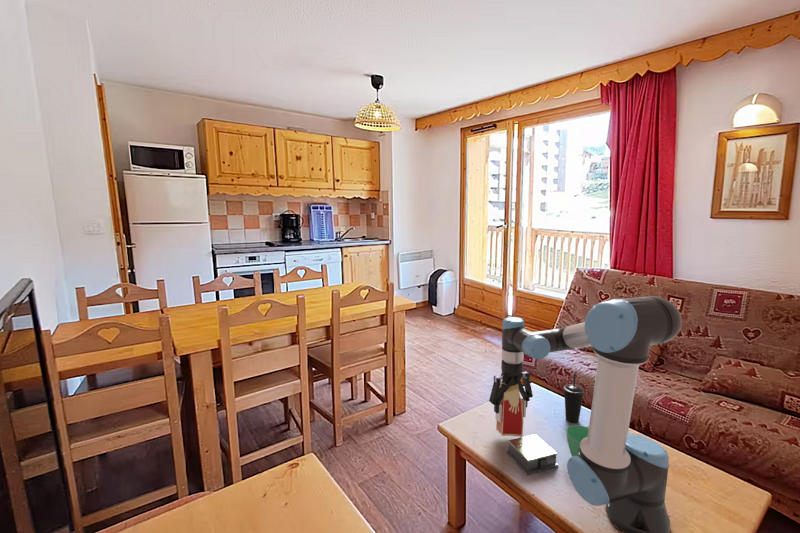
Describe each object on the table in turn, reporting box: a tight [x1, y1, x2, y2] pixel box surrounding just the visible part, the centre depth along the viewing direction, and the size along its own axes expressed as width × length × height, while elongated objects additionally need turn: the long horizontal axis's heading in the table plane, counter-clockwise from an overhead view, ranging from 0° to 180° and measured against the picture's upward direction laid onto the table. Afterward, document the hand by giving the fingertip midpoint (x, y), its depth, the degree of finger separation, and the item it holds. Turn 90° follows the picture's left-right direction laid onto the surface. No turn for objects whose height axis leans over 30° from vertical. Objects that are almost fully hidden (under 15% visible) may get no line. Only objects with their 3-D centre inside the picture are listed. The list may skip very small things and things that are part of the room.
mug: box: [565, 424, 589, 457], centre depth 132 cm, size 15×10×10 cm
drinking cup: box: [563, 373, 585, 424], centre depth 154 cm, size 8×8×20 cm
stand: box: [506, 434, 559, 476], centre depth 131 cm, size 12×12×5 cm
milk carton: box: [495, 382, 524, 438], centre depth 140 cm, size 9×9×20 cm
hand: (510, 418), depth 140 cm, fingers closed on milk carton, 9 cm apart
